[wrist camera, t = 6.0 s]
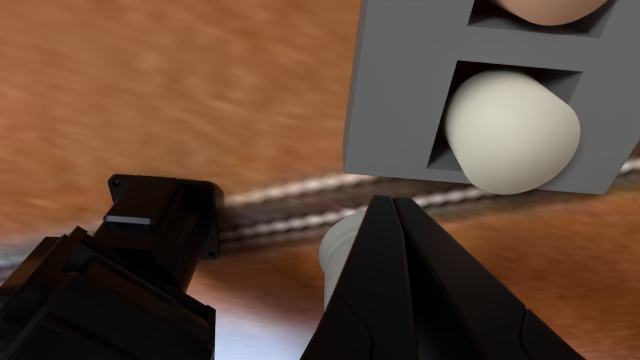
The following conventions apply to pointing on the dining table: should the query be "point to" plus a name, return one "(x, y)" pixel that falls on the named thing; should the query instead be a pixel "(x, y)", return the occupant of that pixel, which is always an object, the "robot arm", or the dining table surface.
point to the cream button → (509, 131)
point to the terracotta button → (550, 9)
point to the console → (489, 47)
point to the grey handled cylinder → (337, 250)
